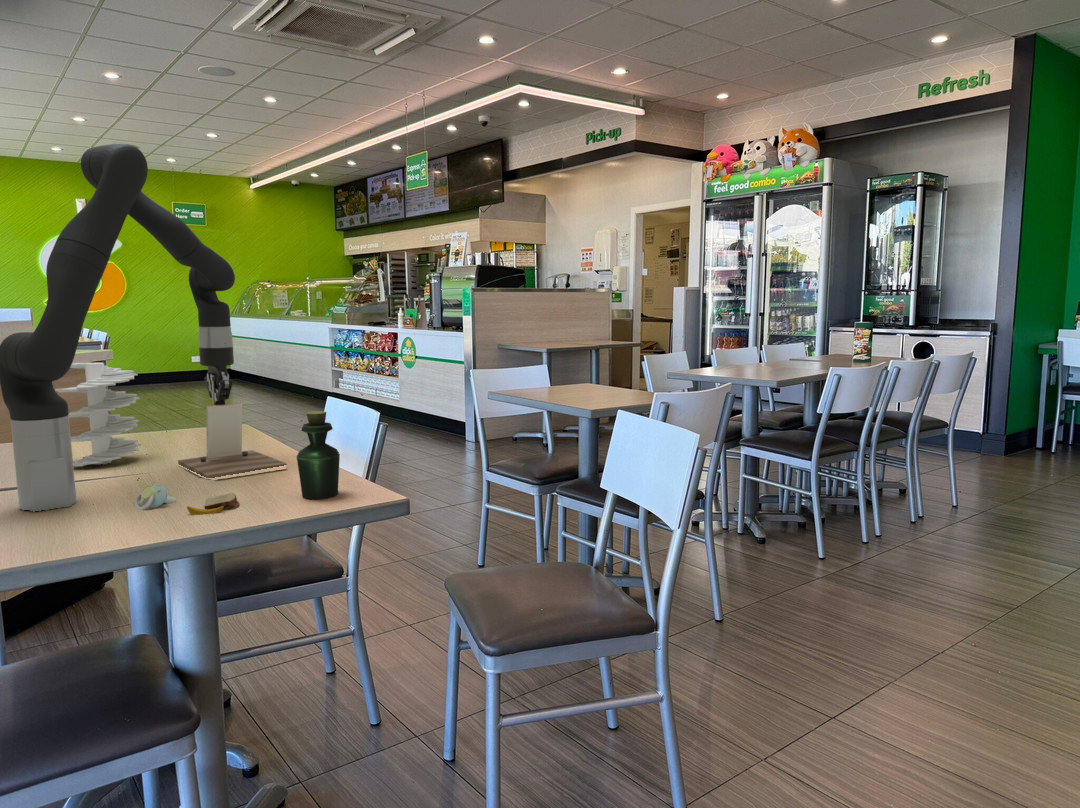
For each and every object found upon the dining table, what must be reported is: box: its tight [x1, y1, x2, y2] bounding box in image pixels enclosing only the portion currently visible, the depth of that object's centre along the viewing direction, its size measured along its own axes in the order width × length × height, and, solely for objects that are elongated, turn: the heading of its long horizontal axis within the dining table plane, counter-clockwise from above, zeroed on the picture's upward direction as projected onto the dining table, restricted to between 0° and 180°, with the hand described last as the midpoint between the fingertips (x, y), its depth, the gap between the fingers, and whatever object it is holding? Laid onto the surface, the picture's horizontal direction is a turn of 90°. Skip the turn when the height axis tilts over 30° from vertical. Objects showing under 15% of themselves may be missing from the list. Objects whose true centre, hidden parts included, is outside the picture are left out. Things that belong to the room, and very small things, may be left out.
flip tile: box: [205, 402, 243, 458], centre depth 179 cm, size 13×8×1 cm
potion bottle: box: [296, 410, 341, 501], centre depth 145 cm, size 8×8×18 cm
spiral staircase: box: [54, 362, 142, 467], centre depth 182 cm, size 18×18×25 cm
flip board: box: [177, 450, 288, 478], centre depth 177 cm, size 22×18×3 cm
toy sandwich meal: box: [186, 492, 241, 516], centre depth 137 cm, size 9×10×4 cm
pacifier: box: [133, 483, 178, 511], centre depth 141 cm, size 7×6×6 cm
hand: (220, 416), depth 180 cm, fingers closed
